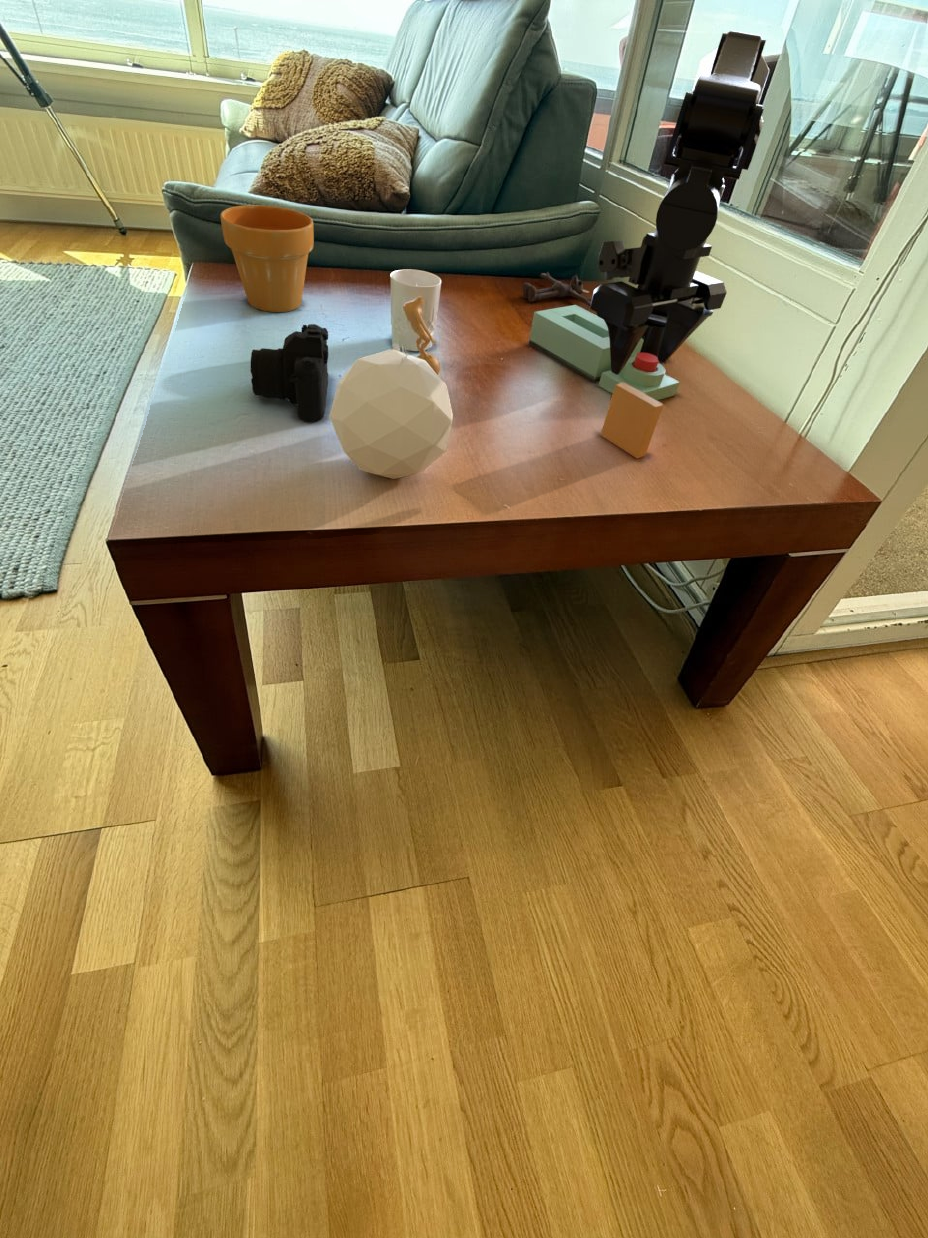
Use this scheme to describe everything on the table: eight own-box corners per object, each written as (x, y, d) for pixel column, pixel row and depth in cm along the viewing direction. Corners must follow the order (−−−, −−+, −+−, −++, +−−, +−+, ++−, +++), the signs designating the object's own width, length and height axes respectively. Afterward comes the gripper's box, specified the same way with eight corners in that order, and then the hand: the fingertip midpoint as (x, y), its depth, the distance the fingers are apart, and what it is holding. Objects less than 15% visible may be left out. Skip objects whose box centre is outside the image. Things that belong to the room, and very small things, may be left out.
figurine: (449, 391, 93) (458, 306, 85) (412, 395, 91) (418, 308, 82) (425, 367, 98) (431, 284, 90) (389, 370, 96) (392, 286, 87)
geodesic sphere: (322, 378, 78) (324, 309, 64) (434, 380, 82) (459, 315, 68) (332, 495, 77) (336, 450, 63) (446, 492, 80) (474, 448, 66)
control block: (638, 374, 106) (645, 350, 103) (675, 395, 102) (684, 370, 99) (598, 385, 101) (605, 360, 98) (635, 407, 97) (643, 382, 94)
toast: (608, 432, 90) (624, 381, 85) (645, 455, 87) (664, 404, 81) (600, 435, 89) (615, 384, 84) (637, 458, 86) (655, 407, 80)
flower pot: (308, 323, 105) (304, 235, 96) (221, 312, 104) (208, 222, 95) (323, 294, 115) (320, 212, 106) (243, 284, 114) (234, 199, 105)
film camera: (264, 369, 91) (257, 304, 85) (332, 375, 93) (330, 310, 86) (249, 421, 81) (239, 351, 74) (326, 426, 82) (323, 357, 76)
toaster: (568, 336, 115) (575, 304, 111) (633, 372, 107) (644, 339, 103) (528, 344, 110) (534, 311, 106) (593, 382, 102) (603, 348, 98)
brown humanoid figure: (503, 268, 129) (561, 258, 134) (501, 290, 132) (558, 279, 137) (554, 300, 118) (614, 288, 123) (551, 323, 122) (610, 310, 127)
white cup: (429, 356, 101) (435, 290, 94) (382, 347, 102) (384, 280, 95) (440, 339, 107) (446, 275, 100) (395, 330, 107) (398, 265, 100)
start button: (642, 361, 101) (646, 350, 100) (660, 371, 99) (663, 360, 98) (628, 365, 99) (631, 354, 98) (645, 375, 97) (649, 363, 96)
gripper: (677, 206, 79) (638, 333, 90) (573, 212, 70) (544, 353, 81) (752, 233, 73) (700, 365, 84) (650, 243, 64) (607, 390, 75)
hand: (638, 367), depth 81 cm, fingers open, 9 cm apart
